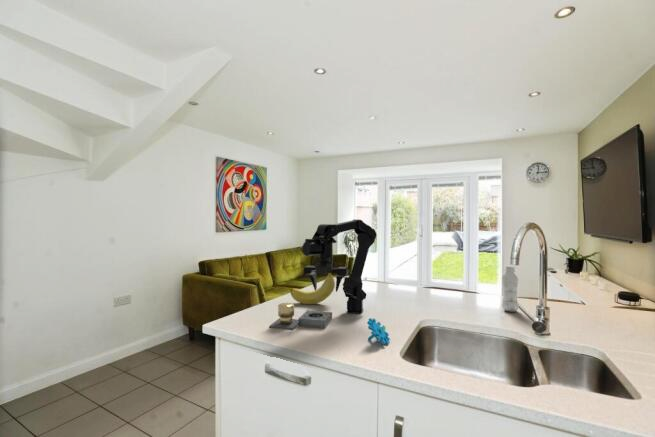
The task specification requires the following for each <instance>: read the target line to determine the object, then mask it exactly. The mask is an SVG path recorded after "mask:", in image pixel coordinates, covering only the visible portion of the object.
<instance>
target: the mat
mask: <svg viewBox="0 0 655 437" xmlns="http://www.w3.org/2000/svg"><path fill="white" fill-rule="evenodd" d="M268 327H269V328H272V329H280V330H292V331H293V330H295V329H296V328H297V327H299V326H298V319H296V318H295V319H294V318H292V324H290V325H282V324H280V317H279V318H278V319H276V320H275V321H274V322H273V323H271V324H270V325H269V326H268Z"/></svg>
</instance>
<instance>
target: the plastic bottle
mask: <svg viewBox="0 0 655 437" xmlns="http://www.w3.org/2000/svg"><path fill="white" fill-rule="evenodd" d="M504 271H505V273H504V274H503V275H502V277H501V280H502V287H503V288H502V289H503V290H502V291H503V295H502V296H503V297H502V303H501V307H502V309H503V310H504V311H507V312H510V313H513V312H515V313H516V312H517V311H518V310H519V302H518V296H517V295H518V292H517V291H518V284H519V278H518V276H517V274H516V273H515V272H516V268H515V267H514V266H505V270H504Z"/></svg>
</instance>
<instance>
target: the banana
mask: <svg viewBox="0 0 655 437" xmlns="http://www.w3.org/2000/svg"><path fill="white" fill-rule="evenodd" d="M335 288H336V281H335V278H334V277H333V273H327V275H326V278H325V280H324V281H323V283H322V284H321V286H319V288H318V287H317V289H316V291H315V290H313V291H304V290H301V289H298V288H291V289H290V295H291V297H292V298H293V300H294V301H296V302H298V303H300V304H303V305H316V304H319V303H321V302H323V301H325V300H326V299H327V298H328V297H330V296H331V295H332V293H333V292H334V290H335Z"/></svg>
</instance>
